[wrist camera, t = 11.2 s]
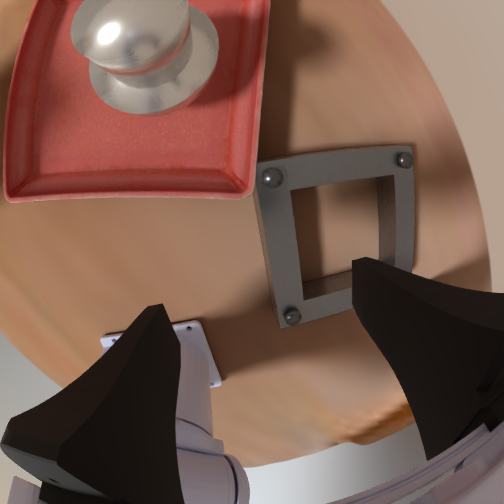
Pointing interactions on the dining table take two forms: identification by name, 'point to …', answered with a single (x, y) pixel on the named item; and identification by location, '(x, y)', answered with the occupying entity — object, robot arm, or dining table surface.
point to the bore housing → (284, 234)
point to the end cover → (146, 53)
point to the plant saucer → (132, 118)
